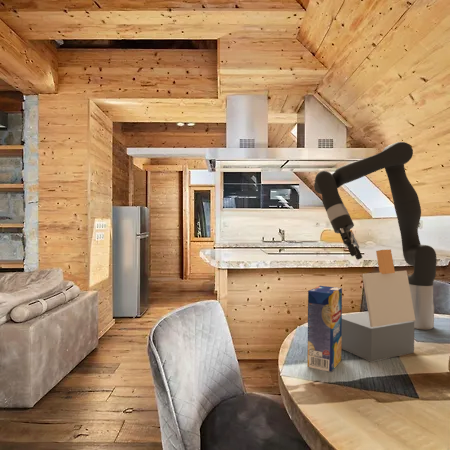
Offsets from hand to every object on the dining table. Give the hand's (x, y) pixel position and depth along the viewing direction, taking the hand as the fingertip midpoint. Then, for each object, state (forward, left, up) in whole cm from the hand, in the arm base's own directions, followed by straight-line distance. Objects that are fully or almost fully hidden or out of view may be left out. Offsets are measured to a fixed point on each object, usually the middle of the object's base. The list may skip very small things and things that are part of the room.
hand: (357, 257), depth 131 cm
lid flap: (+4, +16, -8) cm, 18 cm away
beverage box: (+27, +14, -30) cm, 42 cm away
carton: (+4, +11, -29) cm, 32 cm away
